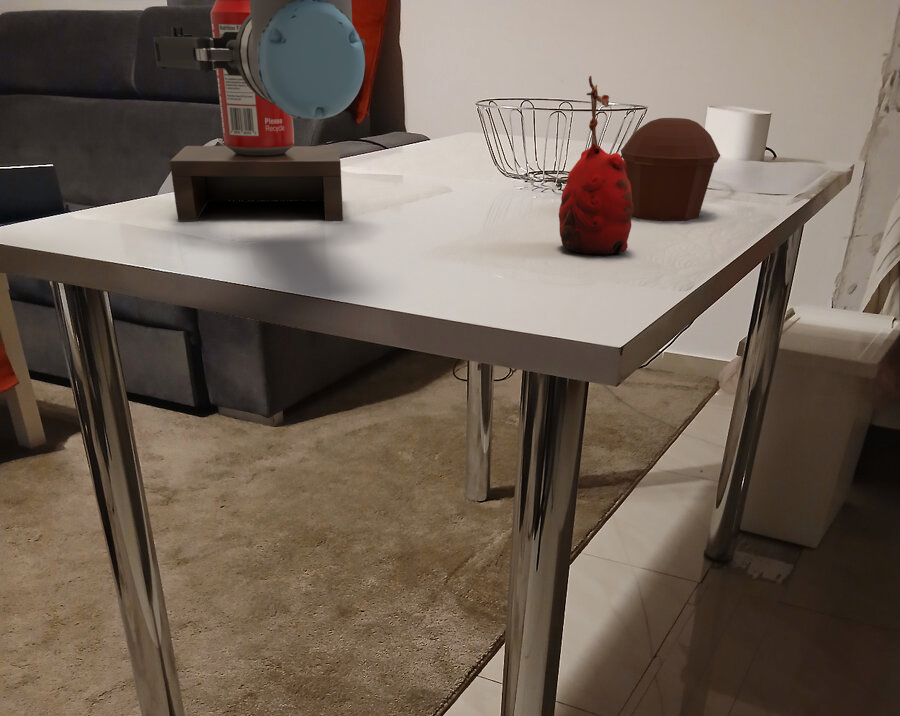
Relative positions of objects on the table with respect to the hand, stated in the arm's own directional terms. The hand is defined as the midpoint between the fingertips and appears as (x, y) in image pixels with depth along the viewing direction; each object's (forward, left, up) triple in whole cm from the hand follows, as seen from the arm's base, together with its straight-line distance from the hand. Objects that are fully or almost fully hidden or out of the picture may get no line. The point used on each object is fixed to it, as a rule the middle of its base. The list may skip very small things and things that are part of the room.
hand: (252, 50), depth 94 cm
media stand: (-1, +4, -16) cm, 16 cm away
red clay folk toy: (+32, -20, -16) cm, 42 cm away
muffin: (+46, 0, -16) cm, 49 cm away
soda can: (0, +4, -10) cm, 11 cm away
